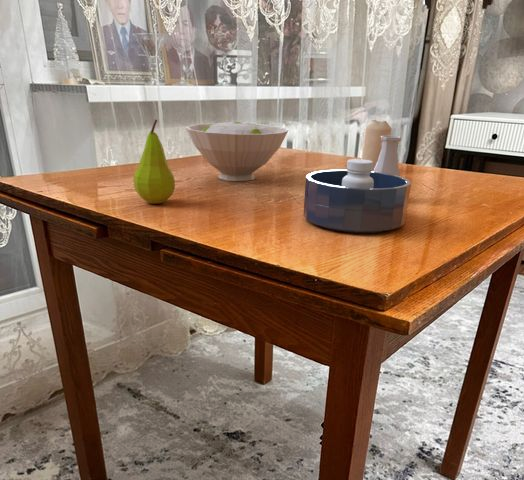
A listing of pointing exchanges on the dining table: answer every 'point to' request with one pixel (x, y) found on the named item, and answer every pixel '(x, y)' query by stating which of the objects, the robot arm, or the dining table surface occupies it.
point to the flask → (388, 155)
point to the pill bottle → (358, 174)
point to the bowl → (236, 146)
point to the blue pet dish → (356, 202)
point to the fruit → (154, 172)
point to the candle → (374, 140)
